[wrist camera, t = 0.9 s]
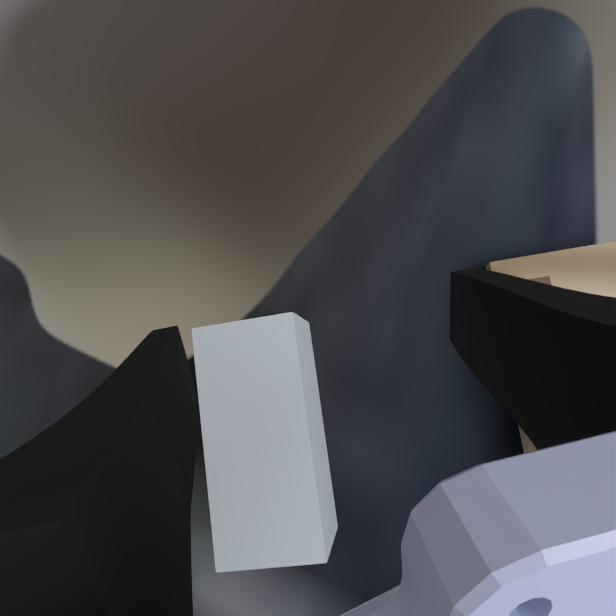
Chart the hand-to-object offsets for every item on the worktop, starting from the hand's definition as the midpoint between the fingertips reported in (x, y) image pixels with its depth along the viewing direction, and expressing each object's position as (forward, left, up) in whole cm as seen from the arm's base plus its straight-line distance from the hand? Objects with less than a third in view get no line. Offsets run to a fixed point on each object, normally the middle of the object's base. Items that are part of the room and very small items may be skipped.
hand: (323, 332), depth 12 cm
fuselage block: (-3, +5, -14) cm, 15 cm away
